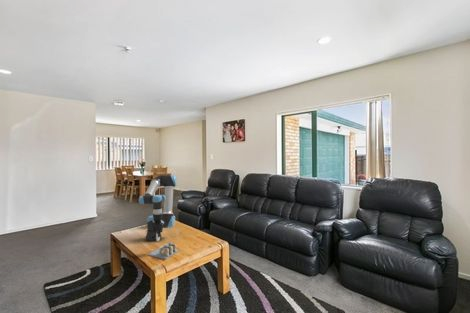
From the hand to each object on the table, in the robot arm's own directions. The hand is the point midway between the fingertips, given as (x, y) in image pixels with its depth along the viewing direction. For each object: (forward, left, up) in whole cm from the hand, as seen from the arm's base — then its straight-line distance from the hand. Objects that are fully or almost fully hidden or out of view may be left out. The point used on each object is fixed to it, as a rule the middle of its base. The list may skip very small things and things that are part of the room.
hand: (158, 240), depth 197 cm
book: (-47, +57, -10) cm, 75 cm away
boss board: (+7, -1, -10) cm, 12 cm away
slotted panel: (+12, -1, -9) cm, 15 cm away
